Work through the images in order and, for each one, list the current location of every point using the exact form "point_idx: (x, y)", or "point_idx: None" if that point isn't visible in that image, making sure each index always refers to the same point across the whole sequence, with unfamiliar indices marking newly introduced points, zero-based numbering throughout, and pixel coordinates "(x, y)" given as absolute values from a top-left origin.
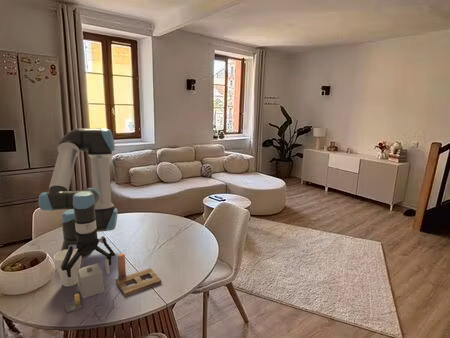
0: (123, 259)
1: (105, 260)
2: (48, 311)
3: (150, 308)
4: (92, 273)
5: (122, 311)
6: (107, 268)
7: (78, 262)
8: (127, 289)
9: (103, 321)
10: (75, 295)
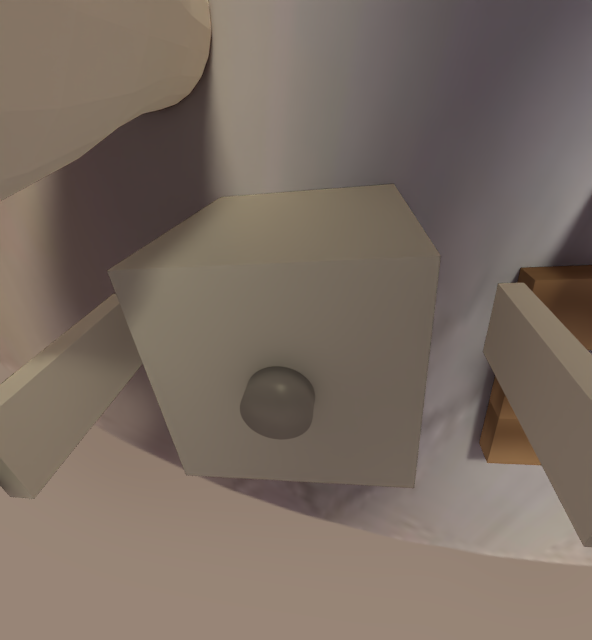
0: None
1: (583, 428)
2: None
3: (528, 555)
4: (303, 463)
5: (412, 513)
6: (512, 402)
7: (64, 134)
8: (526, 442)
9: (320, 516)
10: None
